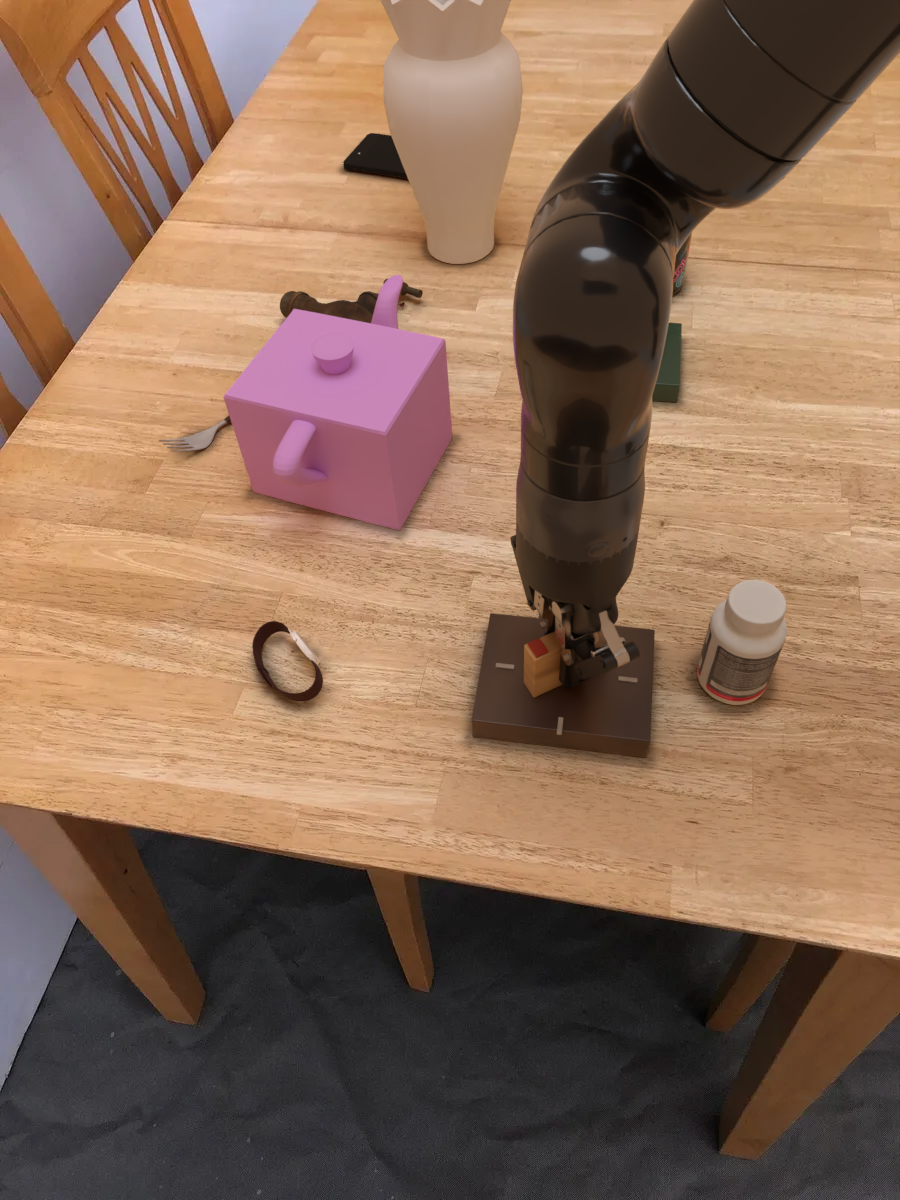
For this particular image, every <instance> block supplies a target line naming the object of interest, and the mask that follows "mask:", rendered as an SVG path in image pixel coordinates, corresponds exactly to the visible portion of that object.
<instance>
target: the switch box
mask: <svg viewBox="0 0 900 1200" xmlns="http://www.w3.org/2000/svg"><path fill="white" fill-rule="evenodd" d="M682 324H683V323H682V322H669V324H668V330H667V335H666V340H665V345H664V350H663V355H662V360H661V364H660V368H659V373H658V377H657V380H656V384H655V387H654V391H653V395H652V402H665V403H667V402H668V403H678V401H679V400H678V399H679V394H680V389H681V369H682V367H681V365H682V337H683V335H682V331H683V329H682V328H683V325H682Z"/></svg>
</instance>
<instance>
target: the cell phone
mask: <svg viewBox="0 0 900 1200" xmlns="http://www.w3.org/2000/svg"><path fill="white" fill-rule="evenodd" d="M343 163H344V164H343ZM342 165H343V169H344V170H347V171H354V172H361V173H368V174H375V175H381V176H388V177H395V178H401V179H407V180H408V177H407V175H406V172H405V170H404V167H403V165H402V162H401V160H400V157H399V154H398V152H397V149H396V147H395V144H394V142H393V139H392V137H391V134H383V133H376V132H375V133H374V132H370V133H367V134H366V136H364V138H363V139H362V140H361V141H360V142H359V143H358V145H357V146H356V147H355V148H353V150H352V151H351V153H349V155H348V156H347V157H345V159H344V160H343V161H342Z"/></svg>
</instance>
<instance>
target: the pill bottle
mask: <svg viewBox="0 0 900 1200" xmlns="http://www.w3.org/2000/svg"><path fill="white" fill-rule="evenodd" d="M785 597H786V596H784V594H783V592H782V591H781V590H780V589H779V588H778V587H777V586H775V585H774V584H772V583H769V582H767V581H764V580H760V579H746V580H742V581H740V582H738V583H736V584H735V585H734V586H733V587H731V589H730V591H729V593H728V595H727V598H726V599H724V600H722V601H721V602H719V603H718V604H717V606H716V607H715V608H714V609H713V610H712V611H713V612H712V613H711V616H710V618H709V623H708V626H707V630H706V634H705V637H704V641H703V643H702V644H703V645H702V648H701V651H700V655H699V660H698V664H697V670H696V676H697V679H698V682H699V684H700V687H701V688H702V689H703V691H705V692H706V693H707V694H708V696H710V697H712V698H713V699H715V700H716V701H719V702H721V703H724V704H727V705H731V706H743V705H747V704H751V703H753V702H755V701H756V700H758V699H759V698H761V696H762V695H763V694H764V693H765V691H766V689H767V687H768V685H769V683H770V680H771V677H772V674H773V672H774V670H775V667H776V664H777V662H778V659H779V657H780V654H781V652H782V649H783V647H784V645H785V643H786V639H787V635H788V625H787V621H786V618H785V615H786V612H787V600H786V598H785Z"/></svg>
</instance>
